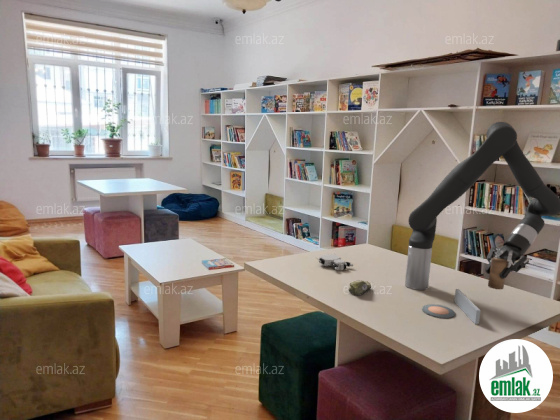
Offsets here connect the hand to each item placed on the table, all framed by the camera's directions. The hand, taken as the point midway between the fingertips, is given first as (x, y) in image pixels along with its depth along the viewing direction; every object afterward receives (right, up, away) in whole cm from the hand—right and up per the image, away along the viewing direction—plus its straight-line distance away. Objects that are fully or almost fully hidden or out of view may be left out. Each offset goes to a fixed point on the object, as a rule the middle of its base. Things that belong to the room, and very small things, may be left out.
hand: (494, 274), depth 150 cm
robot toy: (-50, -4, +50) cm, 71 cm away
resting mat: (-19, -13, +2) cm, 23 cm away
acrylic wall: (-9, -14, +3) cm, 17 cm away
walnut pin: (+1, -4, +2) cm, 5 cm away
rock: (-44, -10, +20) cm, 49 cm away
